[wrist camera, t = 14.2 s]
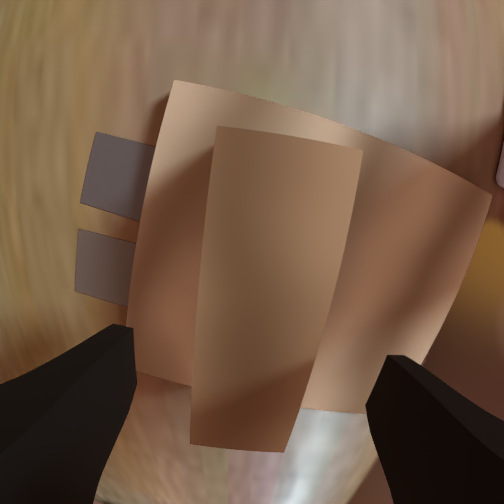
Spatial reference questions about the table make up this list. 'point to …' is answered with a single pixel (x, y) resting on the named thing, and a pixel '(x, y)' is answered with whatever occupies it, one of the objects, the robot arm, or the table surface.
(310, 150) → the block
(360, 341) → the birch board
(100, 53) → the table surface
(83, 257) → the charcoal chip
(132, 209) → the charcoal chip
